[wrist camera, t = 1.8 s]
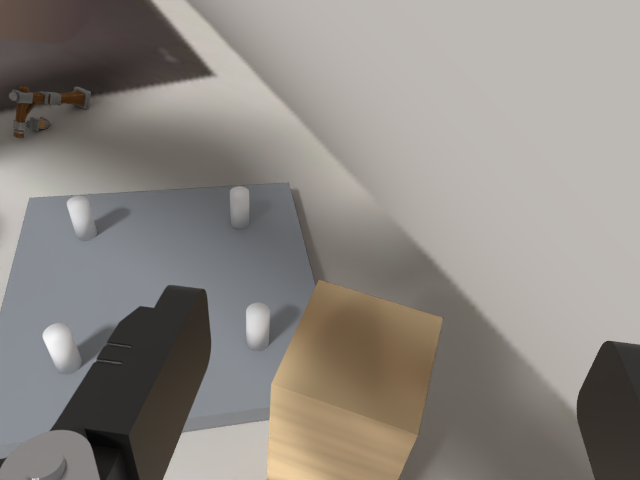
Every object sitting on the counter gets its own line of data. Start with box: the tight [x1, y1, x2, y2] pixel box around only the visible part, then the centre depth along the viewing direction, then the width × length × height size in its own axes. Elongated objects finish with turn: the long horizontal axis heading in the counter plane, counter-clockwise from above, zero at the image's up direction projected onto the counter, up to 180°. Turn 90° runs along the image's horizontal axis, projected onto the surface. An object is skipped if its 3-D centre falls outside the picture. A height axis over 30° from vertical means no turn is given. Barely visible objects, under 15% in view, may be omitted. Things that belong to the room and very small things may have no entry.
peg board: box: [0, 183, 316, 459], centre depth 36 cm, size 20×20×4 cm
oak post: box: [267, 280, 443, 480], centre depth 24 cm, size 5×5×14 cm
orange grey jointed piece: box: [9, 86, 91, 138], centre depth 51 cm, size 2×8×4 cm, turn 151°
